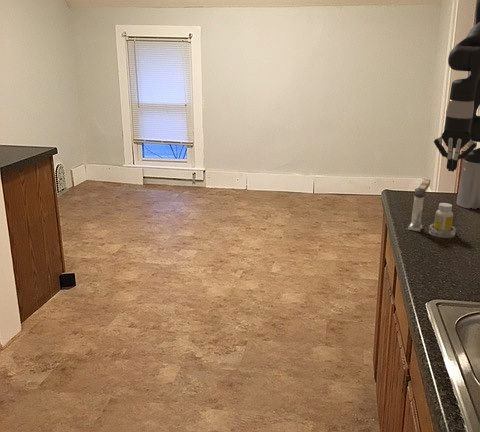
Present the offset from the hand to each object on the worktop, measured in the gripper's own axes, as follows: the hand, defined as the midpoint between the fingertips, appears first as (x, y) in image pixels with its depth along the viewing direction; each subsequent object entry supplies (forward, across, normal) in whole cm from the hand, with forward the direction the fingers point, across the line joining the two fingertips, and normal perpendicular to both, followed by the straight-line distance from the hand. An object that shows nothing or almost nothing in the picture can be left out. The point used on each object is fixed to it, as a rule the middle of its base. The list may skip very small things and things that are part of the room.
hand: (451, 170), depth 176 cm
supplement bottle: (+21, 0, 0) cm, 21 cm away
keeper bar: (+10, +8, -6) cm, 14 cm away
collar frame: (+21, +3, 0) cm, 21 cm away
